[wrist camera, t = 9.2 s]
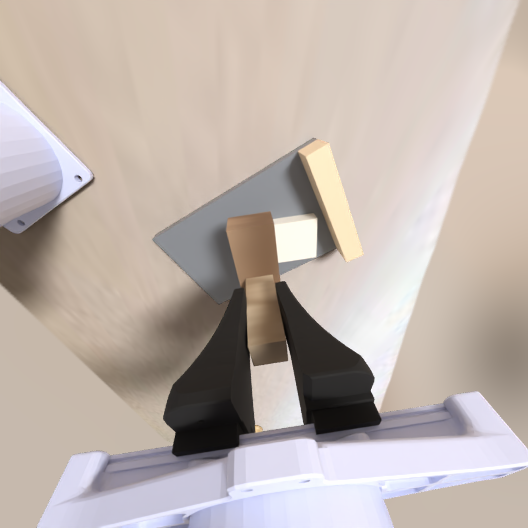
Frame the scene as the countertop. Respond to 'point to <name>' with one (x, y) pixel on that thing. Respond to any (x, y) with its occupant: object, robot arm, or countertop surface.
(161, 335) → the countertop surface
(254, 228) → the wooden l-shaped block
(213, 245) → the board
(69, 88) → the countertop surface
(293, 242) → the tile
